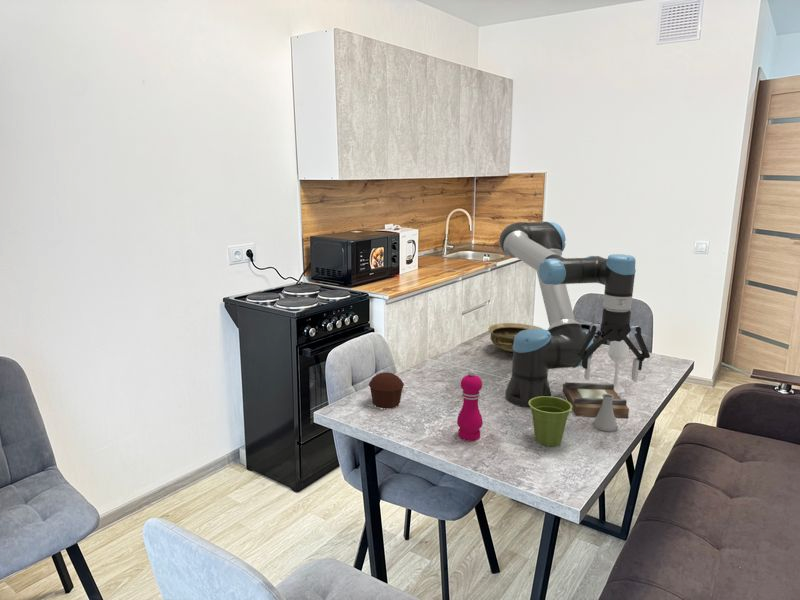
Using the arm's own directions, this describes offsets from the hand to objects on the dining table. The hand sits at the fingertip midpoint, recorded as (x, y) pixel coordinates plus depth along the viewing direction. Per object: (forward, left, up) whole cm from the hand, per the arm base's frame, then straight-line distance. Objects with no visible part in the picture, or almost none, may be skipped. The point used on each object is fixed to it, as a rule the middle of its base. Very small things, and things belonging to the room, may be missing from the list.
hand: (610, 379), depth 164 cm
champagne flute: (+12, +31, -15) cm, 37 cm away
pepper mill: (-41, -10, -15) cm, 45 cm away
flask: (0, 0, -15) cm, 15 cm away
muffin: (-67, +11, -15) cm, 70 cm away
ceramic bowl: (-18, +69, -15) cm, 73 cm away
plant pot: (-19, -11, -15) cm, 27 cm away
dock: (+1, +17, -15) cm, 23 cm away
